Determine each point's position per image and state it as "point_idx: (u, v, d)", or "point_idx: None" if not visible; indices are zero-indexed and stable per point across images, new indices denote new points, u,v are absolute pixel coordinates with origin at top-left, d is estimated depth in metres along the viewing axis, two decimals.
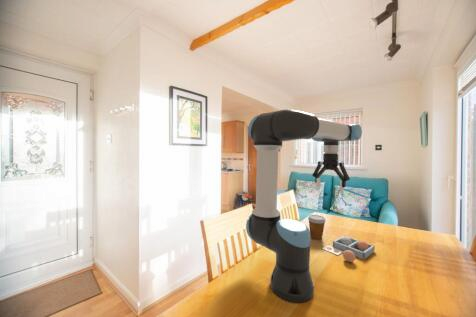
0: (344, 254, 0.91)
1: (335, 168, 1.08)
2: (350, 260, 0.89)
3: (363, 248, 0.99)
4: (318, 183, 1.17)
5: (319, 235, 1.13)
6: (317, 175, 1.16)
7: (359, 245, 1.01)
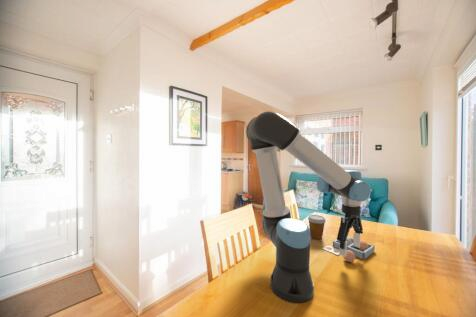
0: None
1: None
2: (350, 260, 0.89)
3: (363, 248, 0.99)
4: (355, 239, 0.95)
5: (319, 235, 1.13)
6: (354, 228, 0.96)
7: None
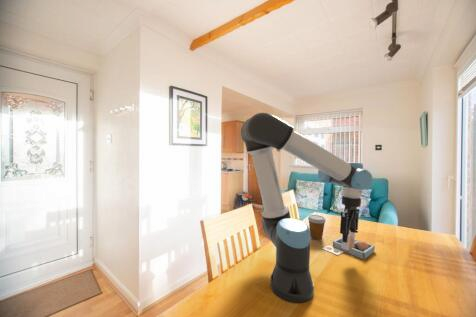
0: None
1: None
2: (349, 247, 0.89)
3: (363, 248, 0.99)
4: None
5: (319, 235, 1.13)
6: (349, 226, 0.94)
7: (359, 245, 1.01)
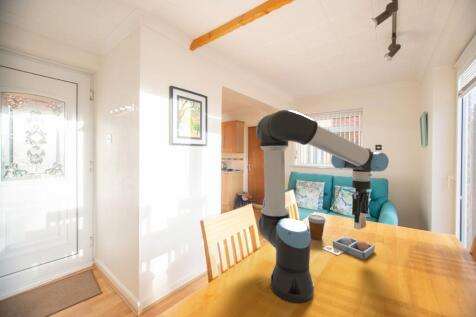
0: None
1: None
2: (361, 226, 0.95)
3: (363, 248, 0.99)
4: None
5: (319, 235, 1.13)
6: (360, 208, 1.00)
7: (359, 245, 1.01)
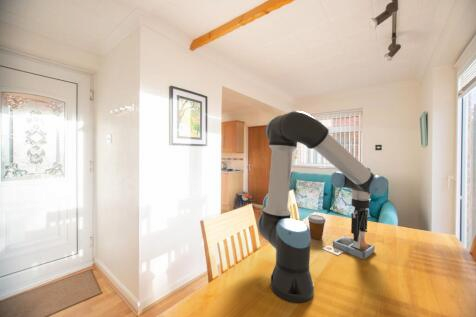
0: None
1: None
2: (360, 245, 0.96)
3: (363, 249, 0.99)
4: None
5: (319, 235, 1.13)
6: (359, 226, 1.01)
7: None
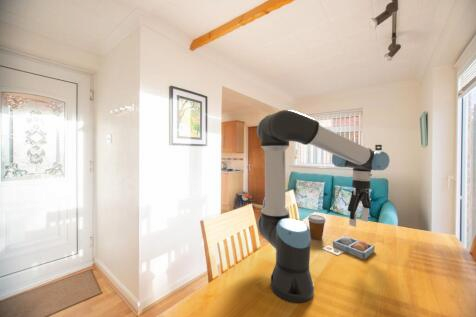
0: (354, 247, 0.98)
1: None
2: None
3: None
4: (363, 213, 1.02)
5: (319, 235, 1.13)
6: None
7: (359, 243, 1.01)
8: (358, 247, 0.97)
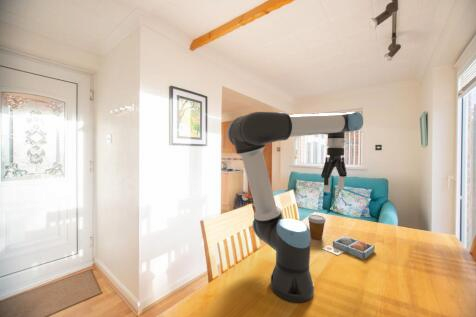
0: (353, 247, 0.98)
1: None
2: None
3: None
4: (339, 182, 1.03)
5: (319, 235, 1.13)
6: None
7: None
8: (357, 247, 0.97)
